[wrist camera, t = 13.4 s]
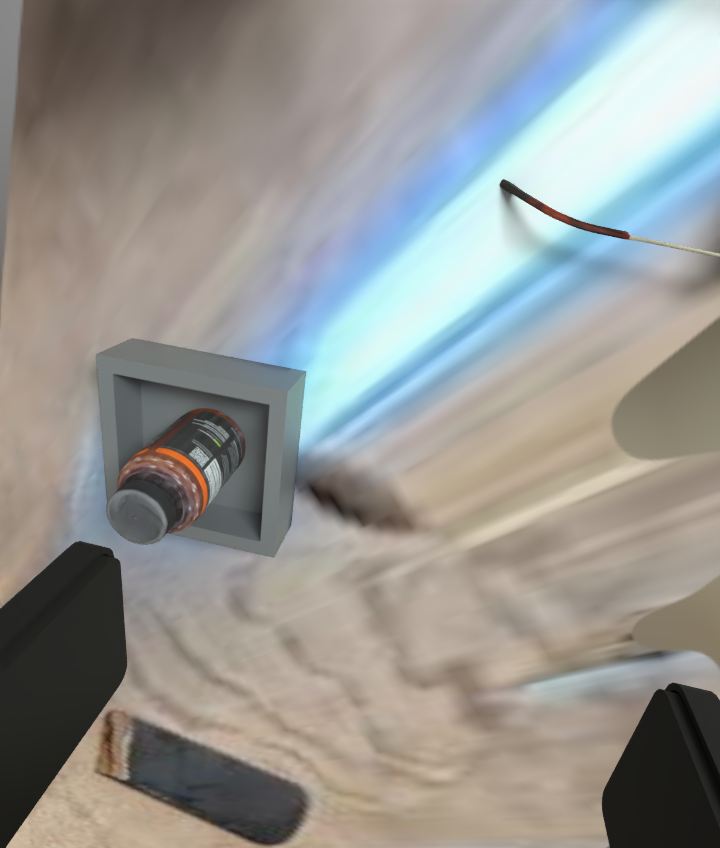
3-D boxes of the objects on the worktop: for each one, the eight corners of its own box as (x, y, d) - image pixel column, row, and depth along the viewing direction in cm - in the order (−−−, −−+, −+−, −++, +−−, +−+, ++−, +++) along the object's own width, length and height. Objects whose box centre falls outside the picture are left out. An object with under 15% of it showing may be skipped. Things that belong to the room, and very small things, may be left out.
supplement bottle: (173, 458, 44) (85, 538, 34) (184, 394, 42) (92, 460, 32) (240, 483, 44) (172, 571, 34) (256, 420, 41) (186, 496, 31)
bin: (132, 338, 42) (95, 354, 38) (305, 371, 40) (287, 391, 36) (139, 491, 48) (108, 519, 44) (291, 525, 46) (274, 557, 42)
